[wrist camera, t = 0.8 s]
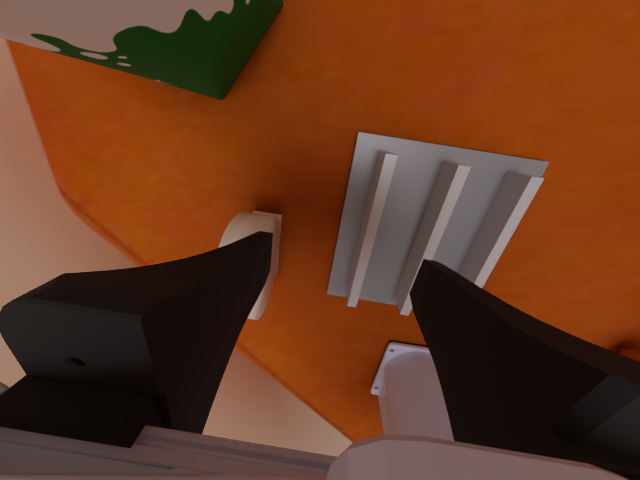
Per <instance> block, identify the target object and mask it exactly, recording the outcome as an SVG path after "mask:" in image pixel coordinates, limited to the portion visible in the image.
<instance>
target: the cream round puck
mask: <svg viewBox="0 0 640 480" xmlns="http://www.w3.org/2000/svg"><path fill="white" fill-rule="evenodd" d="M281 220H282V215H280V214H274V213H267V212H261V211H255V210H254V211H253V212H252V213H247V212H240V213H238V214H237V215H235V216H234V217H233V219H232V220H231V221H230V223H229V224H228V226H227V228H226V230H225V232H224V234H223V236H222V239H221V241H220V244H219V247H218V248H220V247H222V246H225V245H228V244H230V243H233V242H235V241H237V240H239V239H242V238H244V237H246V236H249V235H251V234H253V233H255V232H258V231H264V232H270V233H273V242H272V256H271V269H270V272H269V275H268V278H267V281H266V283H265V286H264V288H263V290H262V292H261V294H260V295H259V297H258V299H257V301H256V303H255V305H254V307H253V309H252V310H251V312H250V314H249V316H248V318H247V319H253V320H258V319H259V318H260V317H261V315H262V314H263V312H264V310H265V308H266V305H267V303H268V300H269V297H270V294H271V290H272V287H273V283H274V279H275V276H276V274H277V272H278V262H279V248H280V234H281Z"/></svg>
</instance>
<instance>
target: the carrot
mask: <svg viewBox="0 0 640 480" xmlns="http://www.w3.org/2000/svg"><path fill="white" fill-rule="evenodd" d="M620 355H623V356H625V357H628V358H631V359H634V360H636V361H639V362H640V351H637V350H634V349H630V348H620Z"/></svg>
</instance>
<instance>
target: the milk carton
mask: <svg viewBox="0 0 640 480" xmlns="http://www.w3.org/2000/svg"><path fill="white" fill-rule="evenodd" d="M282 6H283V2H282V0H0V37H1V38H4V39H8V40H11V41H15V42H19V43H22V44H26V45H30V46H33V47H37V48H40V49H44V50H48V51H51V52H55V53H59V54H62V55H66V56H69V57H73V58H77V59H80V60H84V61H87V62H91V63H95V64H98V65H102V66H106V67H109V68H113V69H116V70H120V71H124V72H127V73H131V74H134V75H138V76H142V77H145V78H149V79H152V80H155V81H159V82H162V83H165V84H169V85H172V86H176V87H179V88H183V89H186V90H190V91H193V92H197V93H200V94H203V95H207V96H210V97H214V98H217V99H220V100H223V98H224V97H225V95H226V94H227V92H228V90H229V89H230V87H231V86H232V84H233V83H234V81H235V80H236V78H237V76H238V75H239V73H240V72H241V70H242V69H243V67H244V65H245V64H246V62H247V61H248V59H249V58H250V56H251V54H252V53H253V51H254V50H255V48H256V47H257V45H258V43H259V42H260V40H261V39H262V37H263V36H264V34H265V33H266V31H267V29H268V28H269V26H270V25H271V23H272V22H273V20H274V18H275V17H276V15H277V14H278V12H279V11H280V9H281V7H282Z"/></svg>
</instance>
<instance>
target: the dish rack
mask: <svg viewBox="0 0 640 480" xmlns="http://www.w3.org/2000/svg"><path fill="white" fill-rule="evenodd" d="M548 164H549V162H545V161H539V160H533V159H526V158H520V157H514V156H508V155H501V154H495V153H489V152H482V151H476V150H470V149H463V148H457V147H451V146H444V145H438V144H432V143H425V142H419V141H413V140H406V139H400V138H394V137H387V136H381V135H375V134H368V133H362V132H358V134H357V139H356V144H355V149H354V155H353V160H352V165H351V170H350V175H349V180H348V185H347V191H346V196H345V201H344V206H343V211H342V216H341V221H340V227H339V232H338V237H337V242H336V247H335V252H334V257H333V262H332V268H331V273H330V278H329V283H328V288H327V294H328V295H334V296H341V297H347V306H350V307H356V305H357V302H358V299H360V300H366V301H372V302H379V303H385V304H391V305H397V307H398V310H399V313H400V314H401V315H407V316H409V314H410V311H411V309H412V308H413V307H412V303H411V299H410V294H409V293H410V290H411V288H412V285H413V283H414V281H415V278H416V276H417V273H418V271H419V269H420V266H421V264H422V261H423V259H427V260H433V261H437V262H439V263H442V264H443V265H445V266H447V267H449V268H450V269H452V270H454V271H455V272H457V273H458V274H460V275H461V276H463V277H465V278H466V279H468V280H469V281H471V282H472V283H474V284H476V285H477V286H479V287H480V288H482V287H483V285H484V284H485V282H486V280H487V278H488V277H489V275H490V273H491V271H492V269H493V268H494V266H495V264H496V262H497V261H498V259H499V257H500V255H501V254H502V252H503V250H504V248H505V247H506V245H507V243H508V241H509V240H510V238H511V236H512V234H513V233H514V231H515V229H516V227H517V226H518V224H519V222H520V220H521V218H522V217H523V215H524V213H525V211H526V210H527V208H528V206H529V204H530V203H531V201H532V199H533V197H534V196H535V194H536V192H537V190H538V189H539V187H540V185H541V183H542V182H543V180H544V178H541V177H542V175H543V173H544V171H545V169H546V168H547V166H548Z"/></svg>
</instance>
